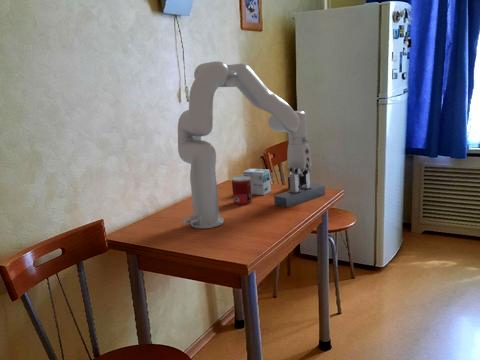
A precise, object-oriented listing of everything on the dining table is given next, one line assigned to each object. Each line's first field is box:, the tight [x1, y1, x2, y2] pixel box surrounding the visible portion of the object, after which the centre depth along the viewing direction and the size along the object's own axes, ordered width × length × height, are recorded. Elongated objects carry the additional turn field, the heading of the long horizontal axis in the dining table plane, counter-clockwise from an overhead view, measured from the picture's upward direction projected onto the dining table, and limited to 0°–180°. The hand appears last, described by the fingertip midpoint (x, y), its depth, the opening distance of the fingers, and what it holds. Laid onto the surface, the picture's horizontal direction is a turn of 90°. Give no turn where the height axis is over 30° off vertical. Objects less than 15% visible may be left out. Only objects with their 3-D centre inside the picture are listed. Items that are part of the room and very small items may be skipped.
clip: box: [288, 170, 311, 194], centre depth 185 cm, size 9×3×8 cm, turn 130°
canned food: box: [231, 175, 253, 206], centre depth 188 cm, size 8×8×11 cm
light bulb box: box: [242, 168, 272, 196], centre depth 202 cm, size 11×7×11 cm, turn 58°
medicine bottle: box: [287, 169, 302, 191], centre depth 203 cm, size 7×7×12 cm
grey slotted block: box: [273, 183, 326, 209], centre depth 187 cm, size 24×7×4 cm, turn 130°
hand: (300, 183), depth 186 cm, fingers closed on clip, 3 cm apart
